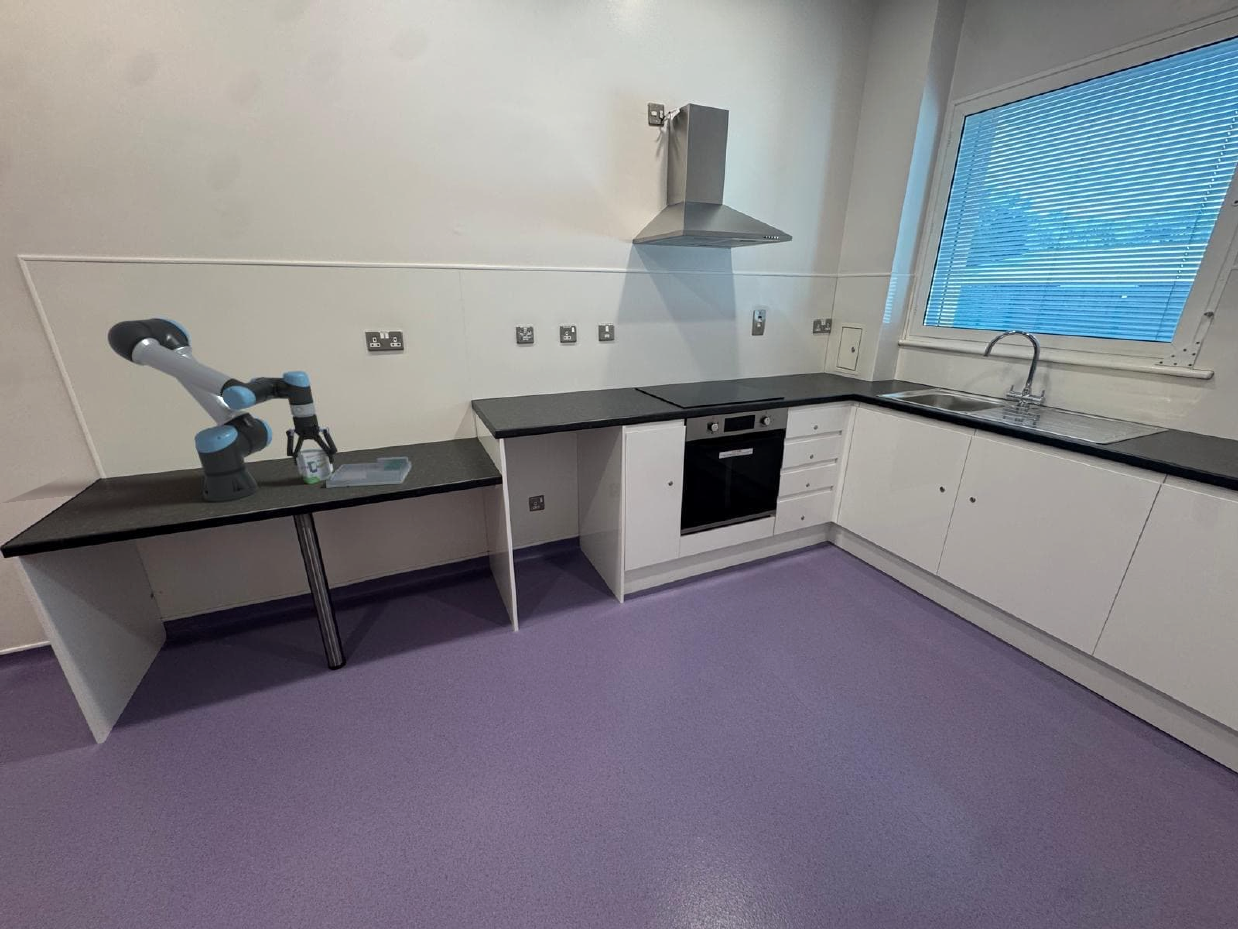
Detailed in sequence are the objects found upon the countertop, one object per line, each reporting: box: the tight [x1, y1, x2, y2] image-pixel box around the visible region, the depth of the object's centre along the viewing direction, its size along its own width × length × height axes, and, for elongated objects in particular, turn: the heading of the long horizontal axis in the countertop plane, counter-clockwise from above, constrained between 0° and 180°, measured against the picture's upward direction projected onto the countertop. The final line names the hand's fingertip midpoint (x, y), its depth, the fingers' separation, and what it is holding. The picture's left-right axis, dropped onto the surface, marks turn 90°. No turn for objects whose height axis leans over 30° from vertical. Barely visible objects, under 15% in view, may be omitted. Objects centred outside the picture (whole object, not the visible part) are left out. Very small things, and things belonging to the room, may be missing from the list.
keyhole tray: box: [325, 456, 413, 489], centre depth 190 cm, size 26×18×4 cm
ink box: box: [298, 446, 333, 485], centre depth 186 cm, size 9×5×12 cm, turn 143°
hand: (316, 472), depth 187 cm, fingers closed on ink box, 9 cm apart
